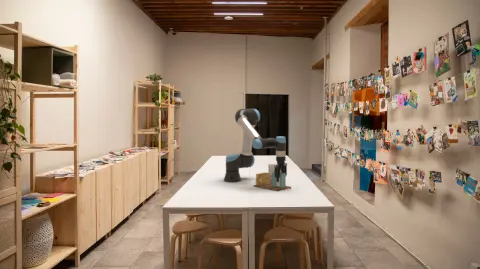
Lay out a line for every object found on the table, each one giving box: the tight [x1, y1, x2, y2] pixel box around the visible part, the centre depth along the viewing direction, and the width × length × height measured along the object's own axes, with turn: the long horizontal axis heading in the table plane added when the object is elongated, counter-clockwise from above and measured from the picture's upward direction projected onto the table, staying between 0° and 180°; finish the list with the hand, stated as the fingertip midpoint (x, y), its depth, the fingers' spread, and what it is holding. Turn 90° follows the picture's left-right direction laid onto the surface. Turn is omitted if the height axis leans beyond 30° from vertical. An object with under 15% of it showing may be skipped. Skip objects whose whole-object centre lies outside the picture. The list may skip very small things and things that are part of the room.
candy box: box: [268, 163, 282, 183], centre depth 309 cm, size 14×6×16 cm, turn 84°
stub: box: [272, 172, 287, 188], centre depth 285 cm, size 10×5×11 cm, turn 45°
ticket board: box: [253, 172, 292, 192], centre depth 290 cm, size 26×16×10 cm, turn 45°
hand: (280, 185), depth 284 cm, fingers closed on stub, 5 cm apart
